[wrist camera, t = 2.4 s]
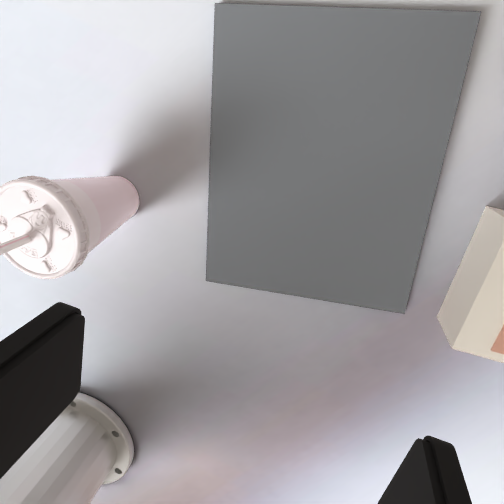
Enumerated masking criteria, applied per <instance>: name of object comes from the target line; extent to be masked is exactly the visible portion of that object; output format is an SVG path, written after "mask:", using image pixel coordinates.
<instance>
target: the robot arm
mask: <svg viewBox="0 0 504 504" xmlns="http://www.w3.org/2000/svg"><path fill="white" fill-rule="evenodd" d="M84 326H85V318H84V316H82V315H81V311H80V309H78V308H76V307H73V306H70V305H67V304H65V303H62V302H58V303H56V304H54V305H53V306H51V307H50V308H49V309H47V310H46V311H44V312H43V313H41V314H40V315H38V316H37V317H35V318H34V319H33V320H31V321H30V322H28V323H27V324H25V325H24V326H22V327H21V328H19V329H18V330H17V331H15V332H14V333H12V334H11V335H9V336H8V337H6V338H5V339H3V340H2V341H1V342H0V504H90V502H91V501H92V499H93V498H94V496H95V494H96V493H97V491H98V490H99V488H100V487H101V485H103V484H108V483H112V482H115V481H117V480H119V479H120V478H121V477H123V476H124V474H125V473H126V472H127V470H128V468H129V467H130V465H131V463H132V461H133V456H134V445H133V441H132V438H131V435H130V433H129V431H128V429H127V427H126V426H125V424H124V423H123V422H122V420H121V419H120V418H119V417H118V416H117V415H116V413H115V412H114V411H112V410H111V409H110V408H109V407H108V406H106V405H105V404H104V403H102V402H100V401H99V400H97V399H95V398H93V397H91V396H89V395H86V394H83V393H79V390H80V386H81V371H82V356H83V341H84ZM378 504H472V502H471V499H470V496H469V492H468V489H467V486H466V483H465V480H464V476H463V473H462V470H461V467H460V464H459V460H458V457H457V454H456V451H455V448H454V446H453V445H452V444H451V443H448V442H445V441H442V440H440V439H437V438H434V437H431V436H426V437H424V439H423V440H422V439H419V438H418V439H417V440H416V441H415V442H414V444H413V446H412V447H411V449H410V451H409V452H408V454H407V455H406V457H405V459H404V460H403V462H402V464H401V465H400V467H399V469H398V470H397V472H396V474H395V475H394V477H393V479H392V480H391V482H390V484H389V485H388V487H387V489H386V490H385V492H384V494H383V495H382V497H381V499H380V500H379V502H378Z"/></svg>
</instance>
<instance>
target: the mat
mask: <svg viewBox="0 0 504 504" xmlns="http://www.w3.org/2000/svg"><path fill="white" fill-rule="evenodd" d="M480 15H481V11H449V10H418V9H387V8H355V7H324V6H293V5H261V4H230V3H215V14H214V45H213V76H212V107H211V138H210V169H209V201H208V232H207V263H206V281H209V282H215V283H221V284H228V285H234V286H240V287H246V288H252V289H258V290H264V291H270V292H276V293H282V294H288V295H294V296H300V297H306V298H312V299H318V300H324V301H330V302H336V303H342V304H348V305H354V306H360V307H366V308H372V309H378V310H384V311H390V312H396V313H402V314H405V310H406V306H407V302H408V298H409V295H410V291H411V287H412V283H413V279H414V275H415V271H416V267H417V263H418V259H419V255H420V251H421V247H422V243H423V239H424V235H425V232H426V228H427V224H428V220H429V216H430V212H431V208H432V204H433V200H434V196H435V192H436V188H437V184H438V180H439V176H440V172H441V168H442V165H443V161H444V157H445V153H446V149H447V145H448V141H449V137H450V133H451V129H452V125H453V121H454V117H455V113H456V109H457V105H458V101H459V98H460V94H461V90H462V86H463V82H464V78H465V74H466V70H467V66H468V62H469V58H470V54H471V50H472V46H473V42H474V38H475V35H476V31H477V27H478V23H479V19H480Z"/></svg>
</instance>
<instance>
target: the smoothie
mask: <svg viewBox="0 0 504 504" xmlns="http://www.w3.org/2000/svg"><path fill="white" fill-rule="evenodd" d="M138 208H139V195H138V192H137V190H136V188H135V187H134V185H133V184H132V183H131V182H130V181H129V180H127V179H125V178H123V177H120V176H104V177H89V178H73V179H55V180H49V179H46V178H43V177H37V176H27V177H21V178H19V179H17V180H12V181H9V182H7V183H5V184H3V185H2V186H0V255H1V254H3V255H4V256H5V257H6V258H7V259H8V260H9V261H10V263H12V264H13V265H14V266H15V267H17V268H18V269H19V270H21V271H22V272H24V273H26V274H28V275H30V276H33V277H36V278H40V279H55V278H59V277H61V276H64V275H65V274H67V273H69V272H72V271H74V270H75V269H77V268H78V267H79V266H80V265H81V264H82V263H83V261H84V260H85V258H86V256H87V254H88V253H89V252H90V251H91V250H93V249H94V248H95V247H96V246H97V245H98V244H100V243H101V242H102V241H103V240H104V239H106V238H107V237H108V236H109V235H111V234H112V233H113V232H114V231H115V230H117V229H118V228H119V227H120V226H121V225H123V224H124V223H125V222H126V221H127V220H129V219H130V218H131V217H132V216H134V215H135V213H136V212H137V210H138Z"/></svg>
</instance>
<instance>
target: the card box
mask: <svg viewBox="0 0 504 504" xmlns="http://www.w3.org/2000/svg"><path fill="white" fill-rule="evenodd" d="M437 319H438V321H439V323H440V325H441V327H442V329H443V331H444V333H445V335H446V338H447V340H448V342H449V344H450V346H451V348H452V349H455V350H458V351H462V352H466V353H469V354H473V355H476V356H480V357H484V358H487V359H491V360H494V361H498V362H502V363H504V210H502V209H498V208H493V207H489V206H486V207H485V209H484V212H483V214H482V216H481V218H480V221H479V223H478V225H477V227H476V229H475V232H474V234H473V236H472V238H471V241H470V243H469V245H468V247H467V250H466V252H465V254H464V256H463V259H462V261H461V263H460V265H459V268H458V270H457V272H456V274H455V277H454V279H453V281H452V283H451V286H450V288H449V290H448V292H447V295H446V297H445V299H444V301H443V304H442V306H441V308H440V310H439V313H438V315H437Z"/></svg>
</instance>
